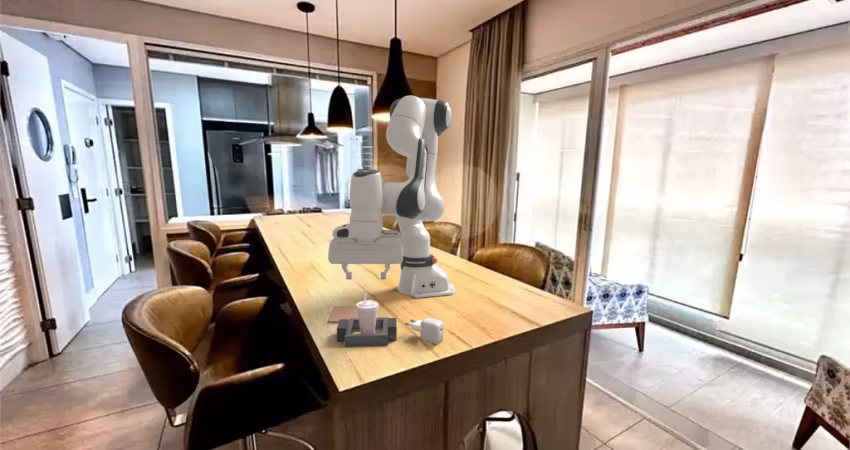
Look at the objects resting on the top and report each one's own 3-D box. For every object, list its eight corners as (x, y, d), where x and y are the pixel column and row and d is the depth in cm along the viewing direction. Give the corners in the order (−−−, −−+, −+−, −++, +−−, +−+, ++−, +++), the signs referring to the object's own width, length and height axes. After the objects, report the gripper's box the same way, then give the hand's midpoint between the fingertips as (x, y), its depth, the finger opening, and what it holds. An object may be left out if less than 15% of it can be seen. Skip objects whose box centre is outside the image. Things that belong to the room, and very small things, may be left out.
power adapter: (403, 335, 103) (403, 316, 102) (412, 329, 107) (412, 311, 106) (436, 346, 97) (436, 326, 96) (445, 339, 101) (445, 320, 100)
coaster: (369, 307, 123) (369, 305, 123) (366, 322, 112) (366, 320, 111) (333, 308, 122) (333, 306, 122) (327, 323, 111) (327, 321, 110)
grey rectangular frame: (396, 326, 109) (396, 313, 109) (396, 345, 98) (396, 331, 97) (341, 327, 108) (341, 315, 107) (335, 347, 96) (335, 333, 96)
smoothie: (357, 331, 106) (356, 285, 103) (379, 330, 106) (379, 285, 104) (355, 341, 99) (354, 293, 97) (378, 341, 100) (378, 293, 98)
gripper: (404, 228, 102) (403, 275, 104) (330, 227, 100) (331, 275, 102) (404, 232, 95) (404, 282, 98) (326, 231, 94) (327, 282, 96)
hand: (366, 278), depth 100 cm, fingers open, 8 cm apart
